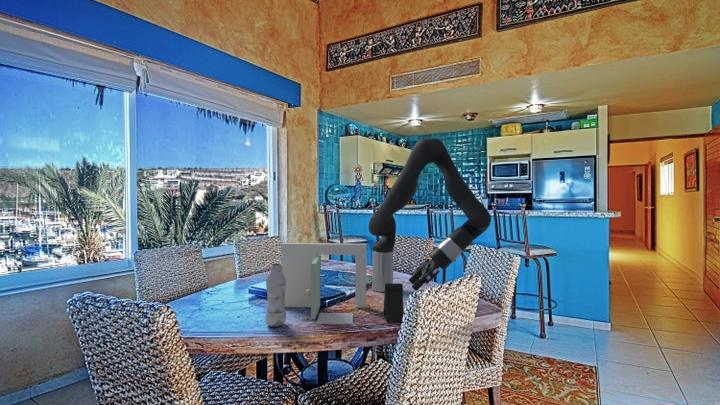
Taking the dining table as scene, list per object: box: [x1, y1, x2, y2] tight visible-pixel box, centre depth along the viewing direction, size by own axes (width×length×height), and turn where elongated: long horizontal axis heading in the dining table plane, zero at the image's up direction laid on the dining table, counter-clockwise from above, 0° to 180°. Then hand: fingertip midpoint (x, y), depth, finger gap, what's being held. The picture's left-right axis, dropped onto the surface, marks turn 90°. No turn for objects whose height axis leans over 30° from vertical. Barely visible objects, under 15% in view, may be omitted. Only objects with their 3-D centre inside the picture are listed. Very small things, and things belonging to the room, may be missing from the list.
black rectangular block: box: [382, 282, 405, 323], centre depth 133 cm, size 9×6×12 cm, turn 3°
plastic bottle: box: [264, 263, 287, 328], centre depth 124 cm, size 6×7×20 cm
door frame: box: [280, 242, 368, 325], centre depth 135 cm, size 19×32×24 cm, turn 89°
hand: (412, 285), depth 132 cm, fingers open, 8 cm apart
